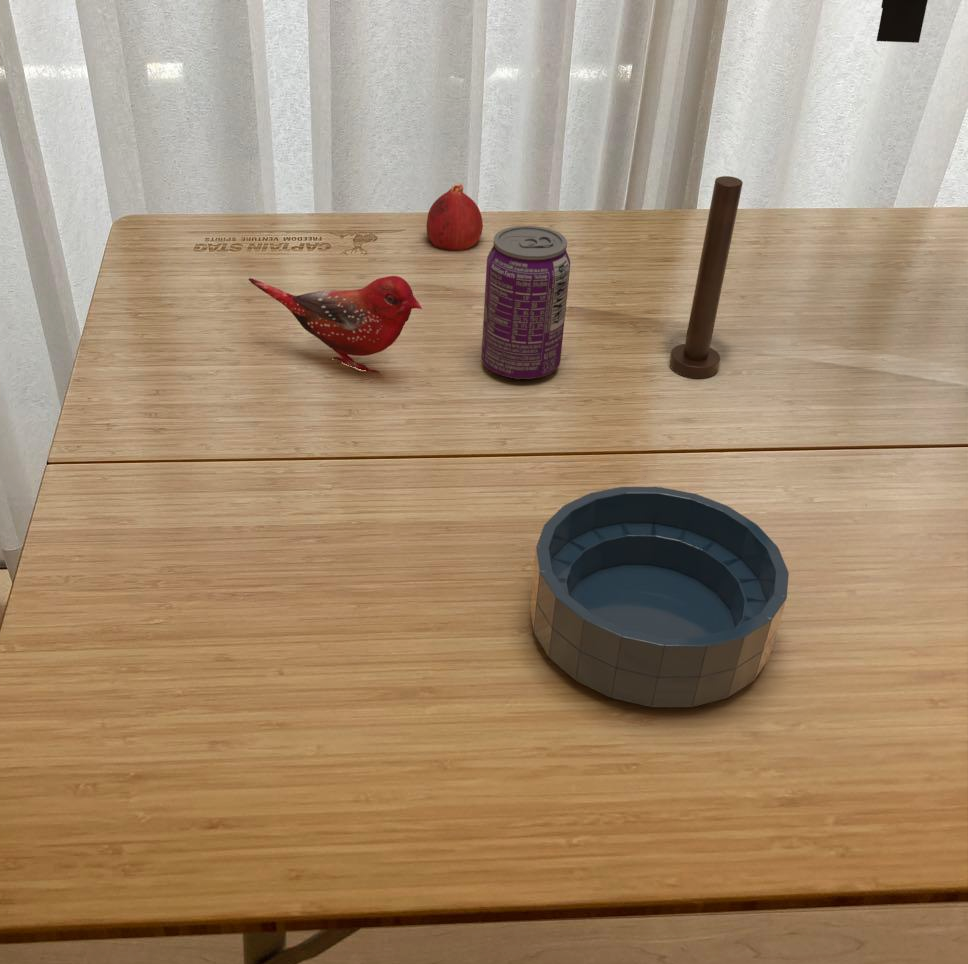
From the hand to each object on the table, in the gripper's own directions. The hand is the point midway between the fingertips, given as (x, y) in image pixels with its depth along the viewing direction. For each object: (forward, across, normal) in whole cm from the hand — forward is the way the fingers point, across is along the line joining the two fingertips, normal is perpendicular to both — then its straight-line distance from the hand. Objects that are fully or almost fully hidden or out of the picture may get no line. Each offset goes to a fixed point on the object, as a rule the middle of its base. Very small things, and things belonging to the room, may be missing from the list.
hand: (898, 24), depth 81 cm
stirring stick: (+29, 0, -12) cm, 31 cm away
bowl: (+31, +35, -9) cm, 48 cm away
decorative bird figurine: (+28, +11, -42) cm, 52 cm away
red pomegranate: (+26, -14, -39) cm, 49 cm away
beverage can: (+29, +5, -26) cm, 39 cm away
